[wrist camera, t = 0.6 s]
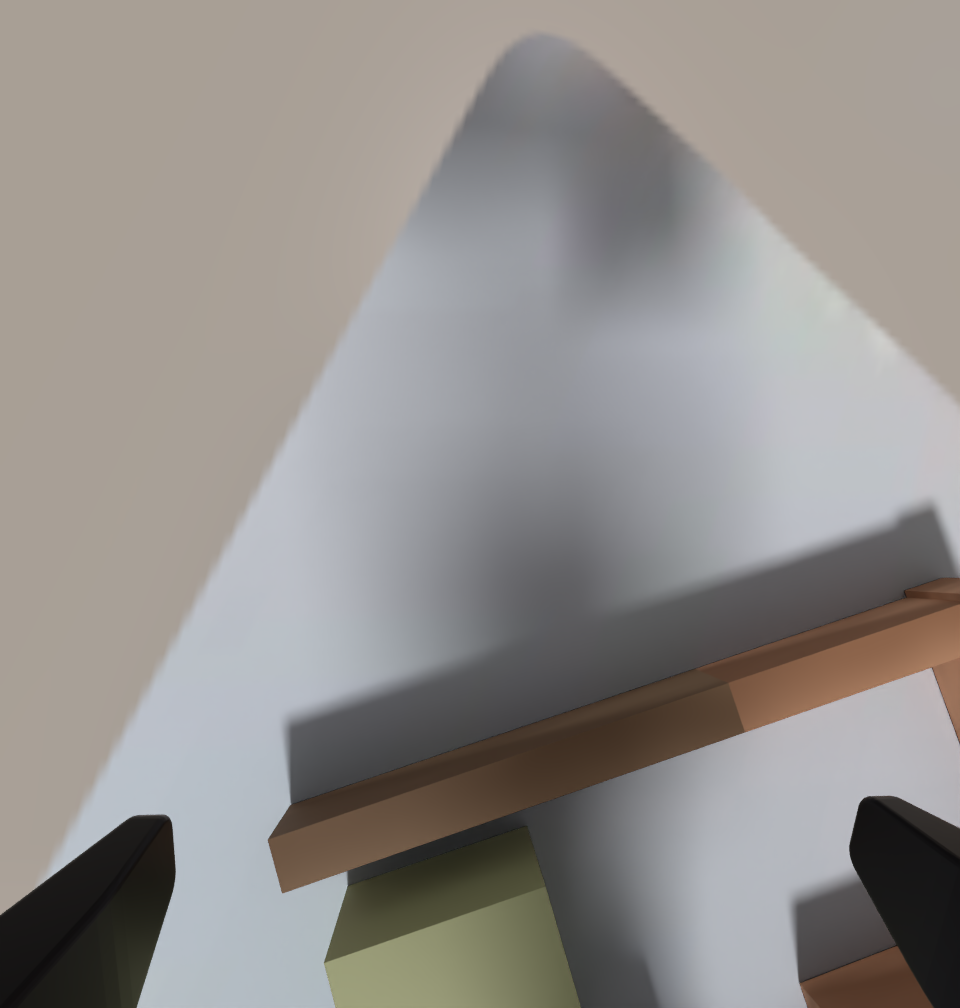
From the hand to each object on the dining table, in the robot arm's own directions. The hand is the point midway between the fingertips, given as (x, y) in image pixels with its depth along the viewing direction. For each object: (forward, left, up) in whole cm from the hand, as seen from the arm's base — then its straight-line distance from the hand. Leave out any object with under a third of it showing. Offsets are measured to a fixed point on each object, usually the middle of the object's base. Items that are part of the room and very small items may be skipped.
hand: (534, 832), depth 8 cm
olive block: (-8, +3, -13) cm, 16 cm away
